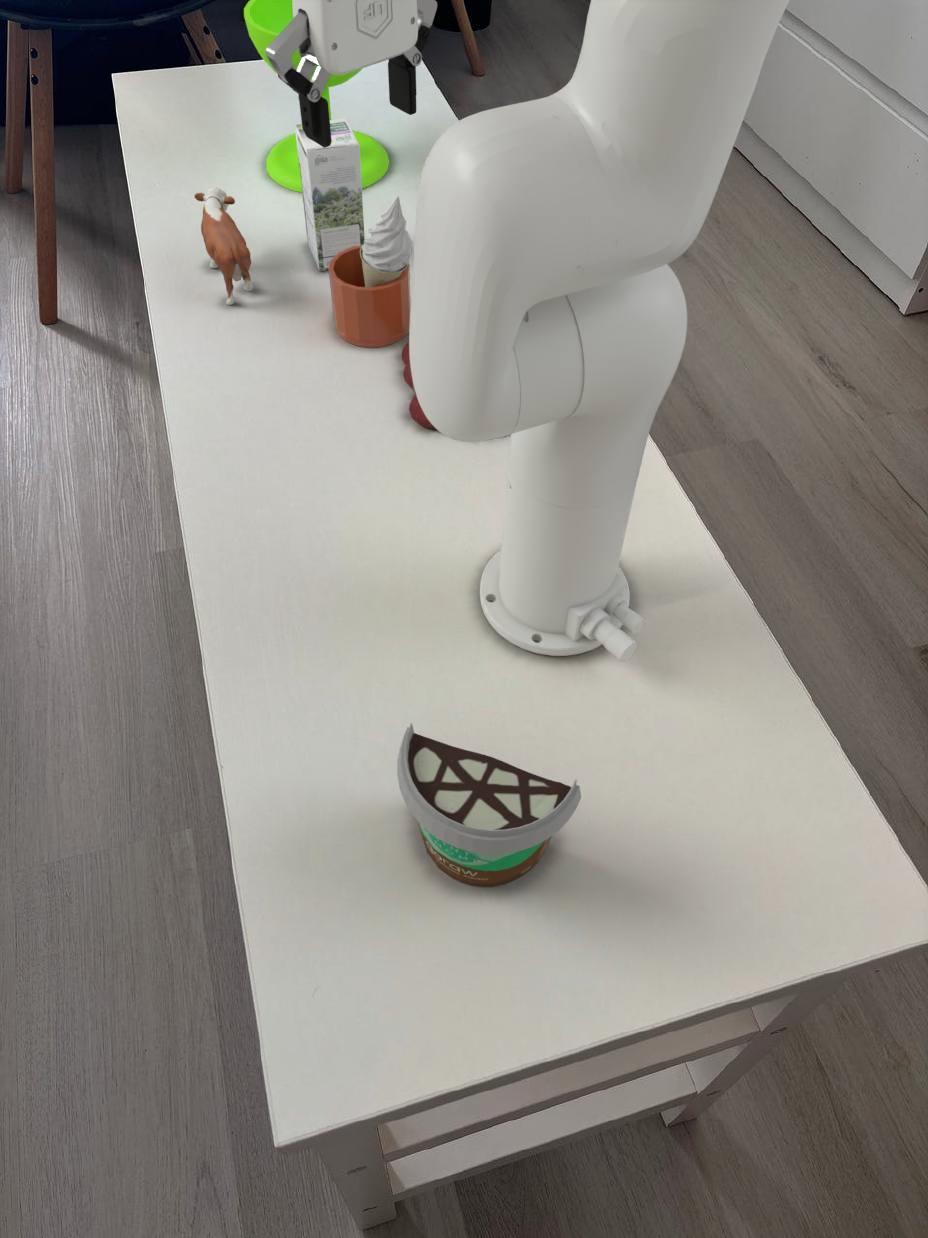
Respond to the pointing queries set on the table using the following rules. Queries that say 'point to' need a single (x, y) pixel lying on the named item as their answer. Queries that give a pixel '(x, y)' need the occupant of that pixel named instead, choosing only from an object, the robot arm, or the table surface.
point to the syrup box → (331, 192)
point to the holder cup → (367, 303)
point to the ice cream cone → (386, 249)
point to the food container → (480, 810)
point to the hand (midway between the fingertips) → (361, 124)
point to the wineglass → (264, 24)
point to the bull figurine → (224, 240)
